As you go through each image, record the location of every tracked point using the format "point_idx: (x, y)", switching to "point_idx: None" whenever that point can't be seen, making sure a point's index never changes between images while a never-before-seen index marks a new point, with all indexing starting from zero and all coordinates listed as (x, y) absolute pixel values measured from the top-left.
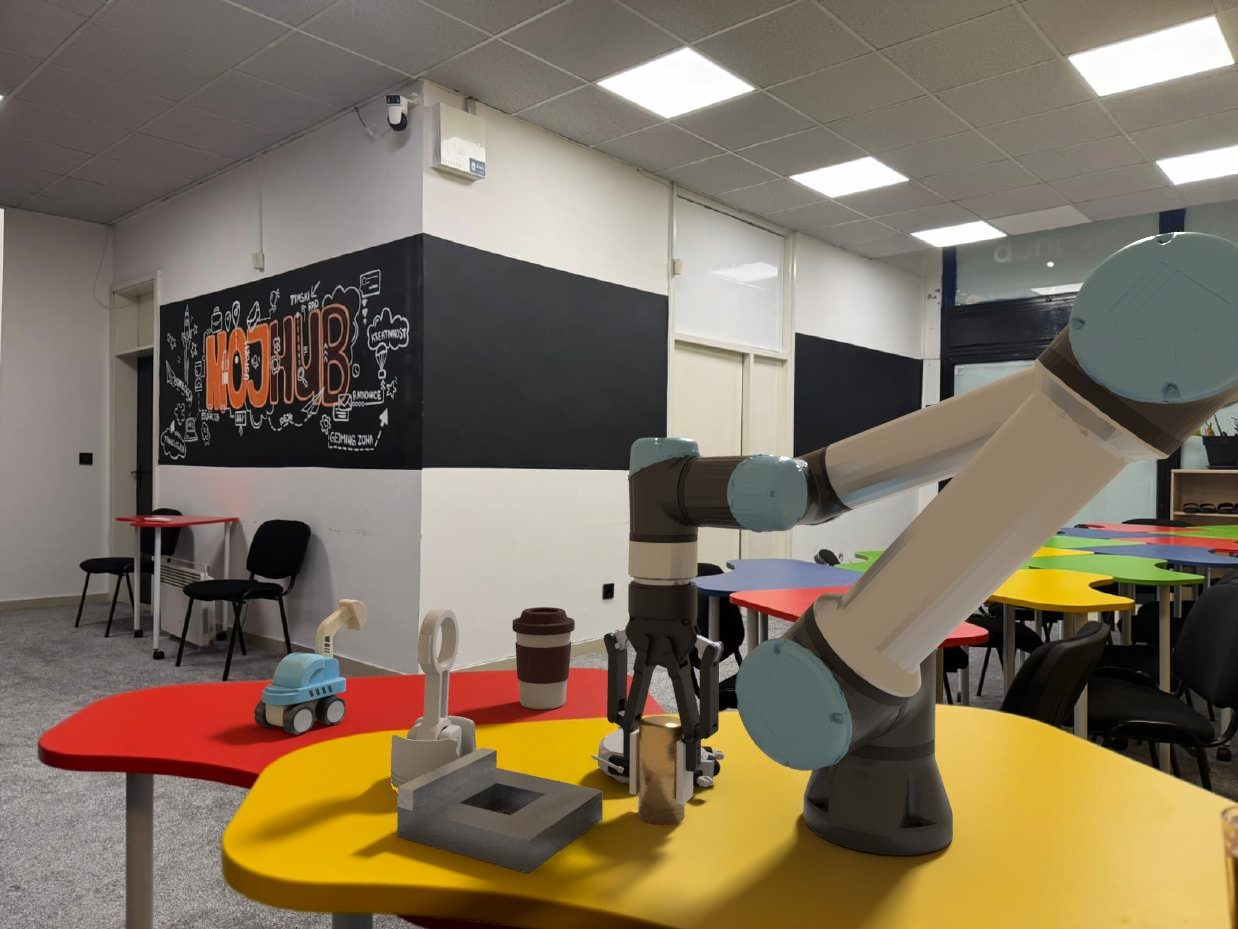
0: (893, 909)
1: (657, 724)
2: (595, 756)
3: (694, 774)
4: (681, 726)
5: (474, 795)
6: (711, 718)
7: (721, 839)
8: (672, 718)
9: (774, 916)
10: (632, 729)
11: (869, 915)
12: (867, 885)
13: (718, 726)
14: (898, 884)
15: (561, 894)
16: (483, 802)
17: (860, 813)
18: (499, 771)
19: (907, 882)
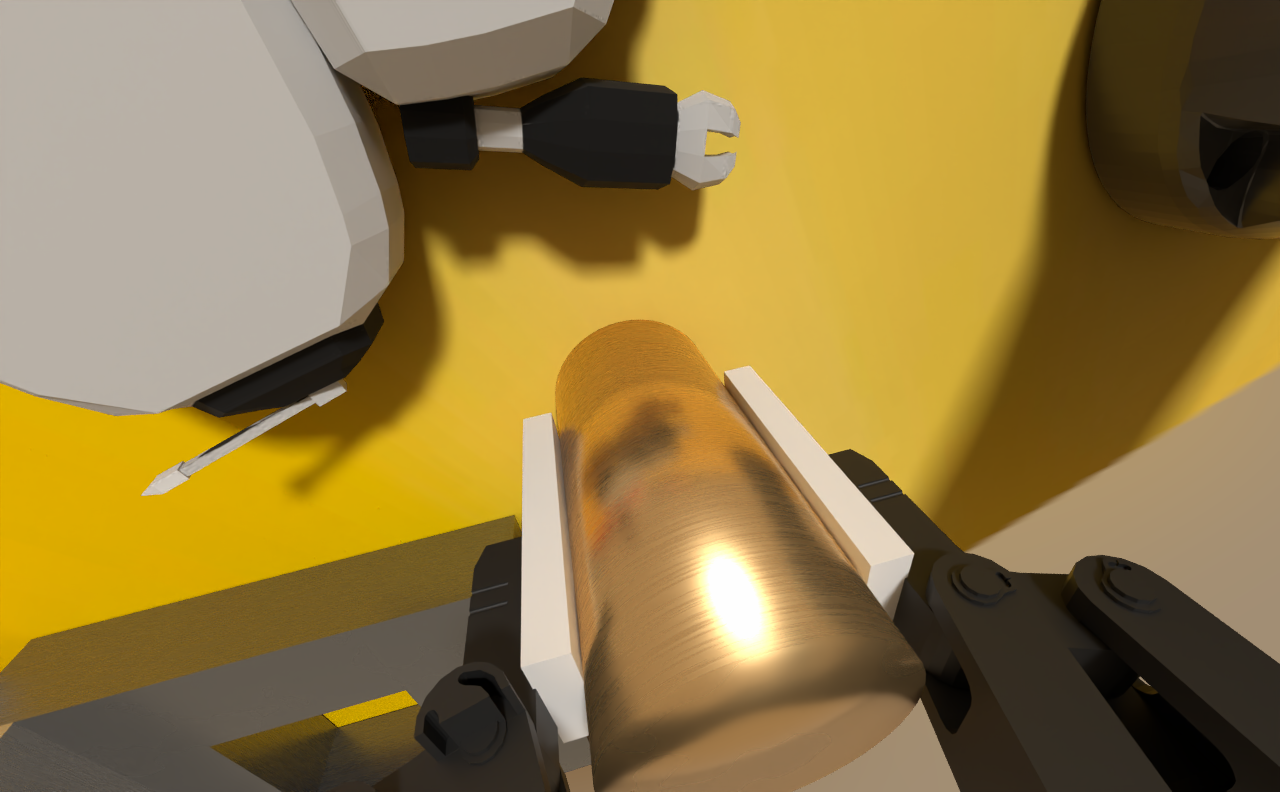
0: (1180, 405)
1: (758, 770)
2: (175, 486)
3: (663, 182)
4: (939, 741)
5: (275, 785)
6: (1220, 760)
7: (846, 394)
8: (797, 673)
9: (984, 536)
10: (555, 748)
11: (1132, 446)
12: (1161, 361)
13: (1179, 593)
14: (1229, 315)
15: None
16: (268, 731)
17: None
18: (77, 725)
19: (1253, 294)
